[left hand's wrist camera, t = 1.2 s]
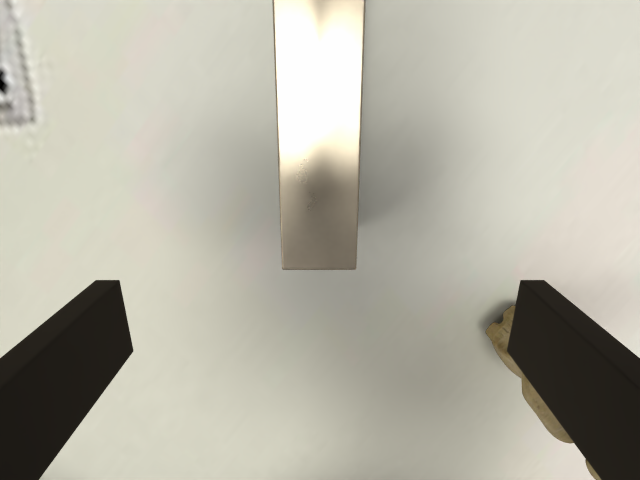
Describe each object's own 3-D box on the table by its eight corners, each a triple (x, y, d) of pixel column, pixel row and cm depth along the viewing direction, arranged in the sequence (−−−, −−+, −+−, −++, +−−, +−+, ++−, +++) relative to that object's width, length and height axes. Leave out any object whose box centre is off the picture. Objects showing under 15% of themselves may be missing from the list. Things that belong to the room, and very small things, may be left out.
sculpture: (518, 373, 36) (645, 546, 22) (466, 330, 35) (567, 487, 21) (569, 332, 35) (739, 490, 21) (517, 285, 33) (663, 422, 19)
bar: (347, 230, 32) (356, 270, 24) (290, 230, 32) (282, 270, 24) (356, -131, 24) (373, -236, 16) (281, -132, 24) (263, -236, 16)
